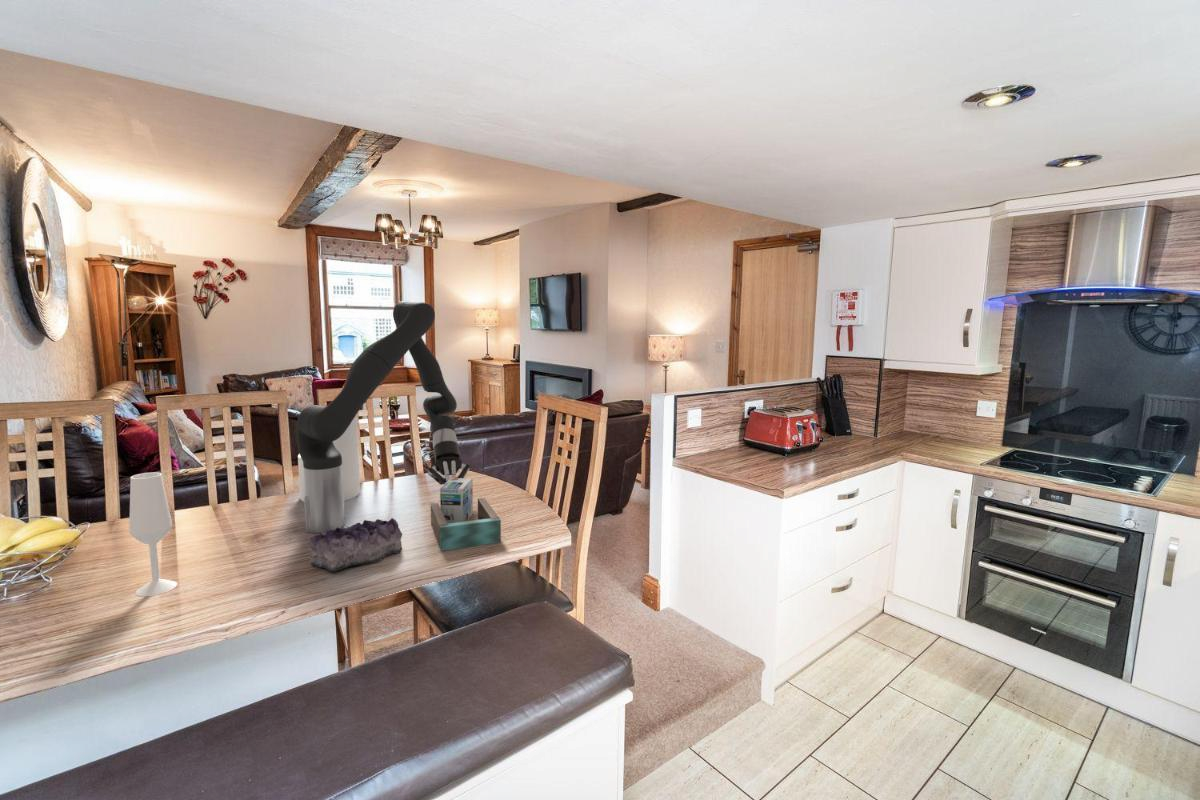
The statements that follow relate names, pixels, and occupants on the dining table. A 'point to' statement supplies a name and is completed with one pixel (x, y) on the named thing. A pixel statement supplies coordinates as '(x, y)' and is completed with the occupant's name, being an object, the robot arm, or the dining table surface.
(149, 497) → the champagne flute
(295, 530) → the dining table surface
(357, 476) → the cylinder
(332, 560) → the geode
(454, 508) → the light bulb box
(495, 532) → the channel
